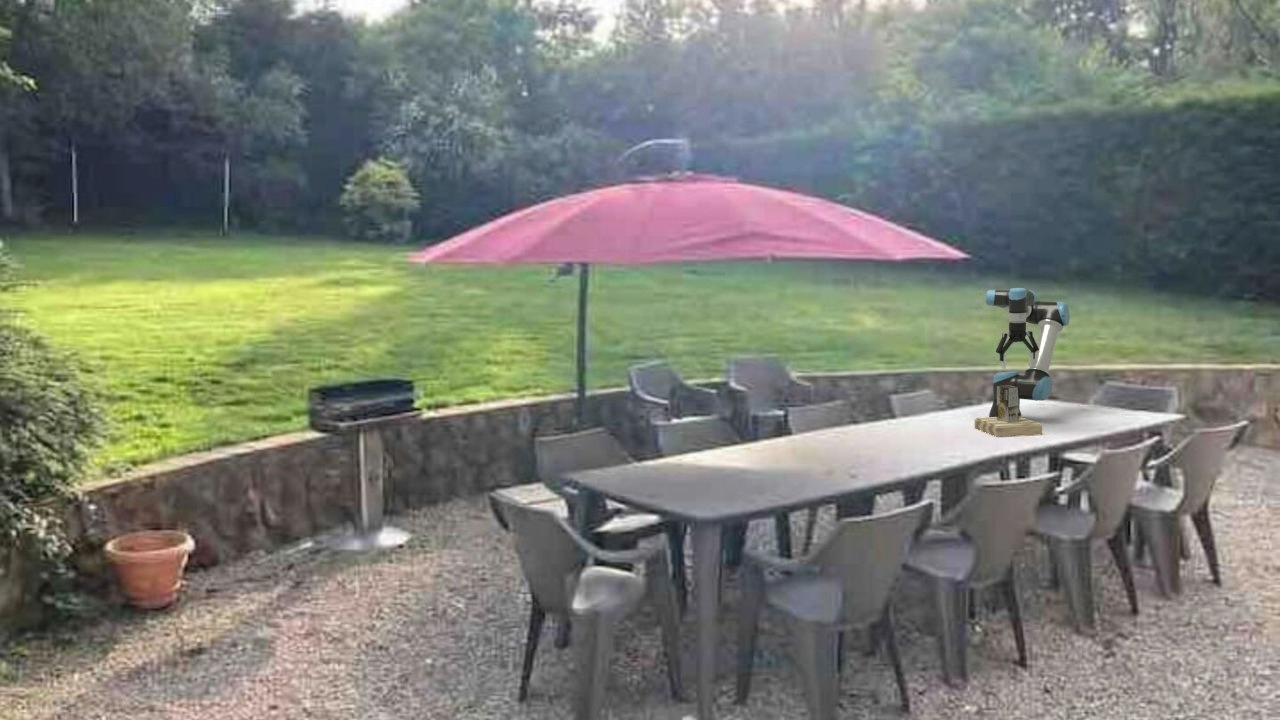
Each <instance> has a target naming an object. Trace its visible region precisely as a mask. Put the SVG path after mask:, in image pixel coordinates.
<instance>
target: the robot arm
mask: <svg viewBox="0 0 1280 720" xmlns="http://www.w3.org/2000/svg"><path fill="white" fill-rule="evenodd" d="M985 303H986V305H987V306H991V307H998V308H1001V309H1003V310H1005V311H1007V312H1008V321H1009V322H1008V333H1007V332H1002V335H1001V339H1000V341H999V343H998V345H997V348H996V350H995V353H997V354H999V362H1001V363H1000V364H1001V366H1000V368H1001V369H1004V370H1005V369H1006V366H1007V363H1006V361H1007V359H1006V357H1007V354H1005V353H1006V352H1007V351H1008V349H1009V348H1010V347H1011V345H1013V343H1021V342H1022V344H1024V345H1025V347H1027V348H1028V350H1029V351H1028V366H1029V368H1027V369H1025V370H1024V374H1020V373H1019V371H1012V370H1011V371H1002V372H997V373H995V374H994V375H993V382H992V404H991V408H990V411H989V414H988V417H997V386H1001V385H1011V386H1017V387H1020V400H1026V401H1029V400H1030V401H1037V402H1038V401H1041V402H1042V401H1045V400H1047V399H1048V398H1049V396H1050V395H1051V393H1052V389H1053V379H1052V378H1051V375H1050V373H1049V369H1050V365H1051V361H1052V358H1053V355H1054V354H1053V353H1054V350H1055V347H1056V346H1055V345H1056V343H1057V338H1058V336H1059V335H1058V334H1059V333H1060V332H1062V331H1063V329H1064V327H1066V326H1068V325H1069V324H1070V318H1071V317H1070V309H1069V305H1068V304H1067V302H1064V301H1045V300H1044V301H1042V300H1041V301H1040V300H1037V294H1036V293H1035V291H1033V290H1031V289H1026V288H1025V287H1024V288H1023V287H1014V288H1012V287H1011V288H1010V289H1008V290H1003V289H1001V290H1000V289H989V290H988V291H987V292H986V293H985ZM1027 324H1032V325H1037V327H1039V331H1038V335H1037V339H1036V340H1035V338H1034V334H1033V331H1030V330H1028V331H1026V330H1027ZM1026 336H1027V338H1028V339H1027V338H1026ZM1007 339H1008V340H1007ZM1028 340H1029V341H1028ZM1019 410H1020V411H1019V416H1020V417H1022V412H1021V409H1019Z"/></svg>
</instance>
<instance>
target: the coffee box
mask: <svg viewBox="0 0 1280 720" xmlns="http://www.w3.org/2000/svg"><path fill="white" fill-rule="evenodd" d="M1020 401H1021V399H1020V387H1017V386H1011V385H1001V386H997V420H1000V421H1004V422H1019V411H1020V412H1021V409H1020ZM1019 409H1020V410H1019Z"/></svg>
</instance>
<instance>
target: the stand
mask: <svg viewBox="0 0 1280 720" xmlns="http://www.w3.org/2000/svg"><path fill="white" fill-rule="evenodd" d="M974 429H976V430H977V429H978V431H980V430H981V432H982V433H985V432H986V433H985V434H988V433H989V434H988V435H990V434H991V435H990V436H993V435H994V436H993V437H995V436H996V438H999V437H998V436H1006V437H1015V436H1014V435H1025V436H1035V435H1034V434H1042V435H1043V425H1041V423H1040V422H1037V421H1034V420H1031V419H1028V418H1025V417H1022V416H1021V417H1020V416H1019V422H1004V421H1000V420H997V417H989V416H987V417H975V419H974Z"/></svg>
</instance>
